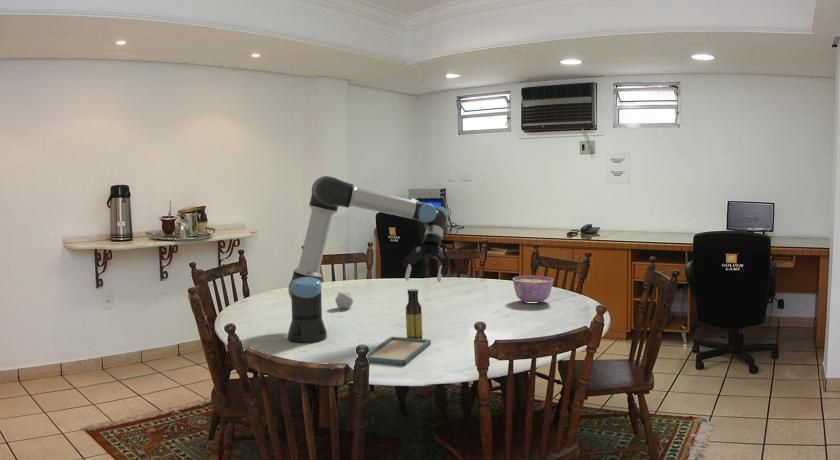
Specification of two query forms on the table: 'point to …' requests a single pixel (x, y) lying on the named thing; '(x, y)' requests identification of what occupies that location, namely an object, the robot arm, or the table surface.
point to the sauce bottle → (413, 315)
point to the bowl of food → (532, 288)
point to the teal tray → (397, 350)
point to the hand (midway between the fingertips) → (422, 279)
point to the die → (344, 300)
